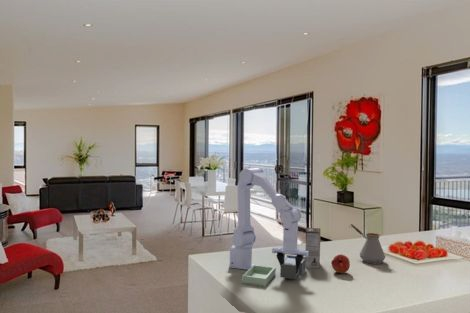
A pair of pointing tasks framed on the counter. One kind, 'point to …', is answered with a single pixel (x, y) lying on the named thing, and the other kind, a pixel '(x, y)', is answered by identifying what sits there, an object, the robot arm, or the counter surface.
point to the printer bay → (302, 264)
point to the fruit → (340, 263)
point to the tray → (259, 275)
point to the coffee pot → (371, 248)
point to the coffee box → (313, 247)
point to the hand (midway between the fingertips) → (289, 272)
